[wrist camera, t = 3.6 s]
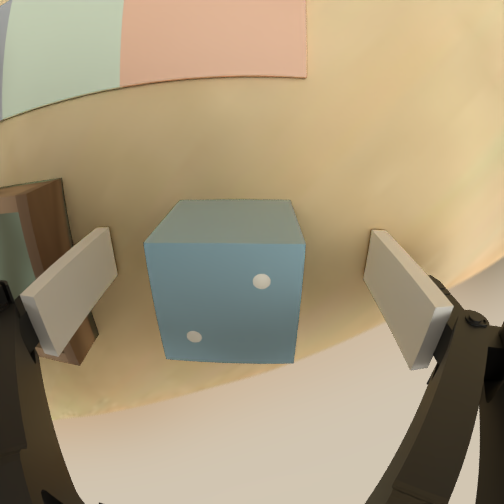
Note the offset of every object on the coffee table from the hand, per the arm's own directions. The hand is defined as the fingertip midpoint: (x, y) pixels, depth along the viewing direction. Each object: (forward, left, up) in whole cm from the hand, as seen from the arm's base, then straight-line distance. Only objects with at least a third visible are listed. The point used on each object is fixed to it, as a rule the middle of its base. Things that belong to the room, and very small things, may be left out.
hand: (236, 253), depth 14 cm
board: (-9, +12, 0) cm, 15 cm away
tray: (-15, -1, 0) cm, 15 cm away
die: (0, 0, 0) cm, 0 cm away
